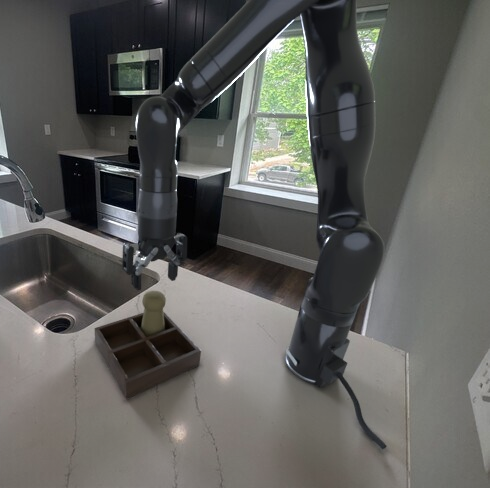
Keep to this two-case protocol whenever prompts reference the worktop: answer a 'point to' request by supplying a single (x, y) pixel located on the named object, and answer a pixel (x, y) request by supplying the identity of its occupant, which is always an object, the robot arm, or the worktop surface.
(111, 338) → the grid
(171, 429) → the worktop surface
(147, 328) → the yellow peg doll
